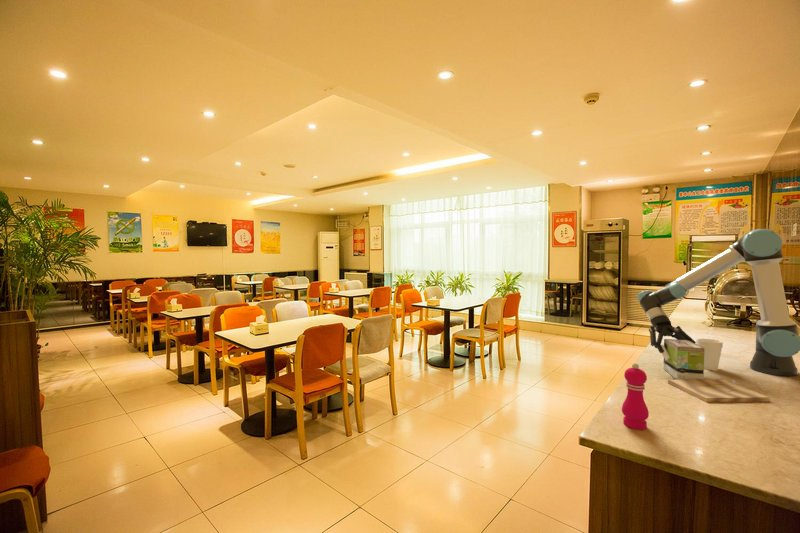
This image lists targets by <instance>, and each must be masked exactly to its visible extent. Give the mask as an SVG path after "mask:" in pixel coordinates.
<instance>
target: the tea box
mask: <svg viewBox="0 0 800 533" xmlns="http://www.w3.org/2000/svg"><path fill="white" fill-rule="evenodd" d="M663 345H664V347H665V349H666V351H667V352H668V354H669V356H670V358H669V359H668V360H667V361H666V360H665V359H664V358H663V364H662V365H663V371H665V372H666V373H668V374H669V375H671V376H672V377H673V378H674V379H675V380H689V379H704V378H705V376H704V374H705V373H704V371H705V369H704V348H703V347H701V346H699V345H697V344H696V343H693V342H691V341H689V340H677V339H675V338H673V339H672V338H664V339H663Z"/></svg>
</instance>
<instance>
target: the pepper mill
mask: <svg viewBox="0 0 800 533" xmlns="http://www.w3.org/2000/svg"><path fill="white" fill-rule="evenodd" d="M623 377H624V379H625V380H626V382H625V384H626V385H625V386H626V388H627V394H626V397H625V399H624V401H623V404H622V406H621V412H622V414H623V425H625V426H626V427H627V426H628V428H630V429H632V430H638V431H641V430H642V431H643V430H644V431H645V430H646V429H647V427H648V422H647V419H648V418H649V417H650V414H649V413H650V412H649V409H648V406H647V404H646V402H645V399H644V391H645V383H646V382H647V380H648V378H647V374H646V372H645V371H644V370H643V369H641V368H640V365H639V364H638V363H636V362H635V363H633V364H632V366H631V367H629V368H627V369H625V371H624V376H623Z"/></svg>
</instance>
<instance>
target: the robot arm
mask: <svg viewBox="0 0 800 533" xmlns="http://www.w3.org/2000/svg"><path fill="white" fill-rule="evenodd" d="M782 247H783V239H782V237H781V235H779V233H777V232H776V231H774V230H772V229H769V228H757V229H753V230H750V231H748V232H747V233H745V234H744V235H742V237H740V238H739V239H738V240H736V241H735V242H734V243H732V244H730V245H729V246H728V249H726V250H725V251H723V252H721V253H719V254H717V255H715V256H714V257H713V258H712V257H711V259H709V260H707V261H706V262H703V263H702V264H701V265H699V266H696V267H695V268H694V269H692V270H690V271H687V272H686V273H685V274H683V275H681V276H680V277H678V278H676V279H675V280H673V281H671V282H668V283H667V284H665V285H664V286H663V287H661V288H660V289H658V290H655V291H652V290H649V289H647V290H642V291H641V292H639V293H638V294H637V301H638V303H639V305H640V307H641V308H642V310H643V312H644V313H645V315H646V316H647V318H648V320H649V321H650V323H651V326H650V327H649V328H648V332H649V335H650V338H649V339H650V346H651V347H654V348H655V349H657V350H658V352H659V353H660V354H662V355H661V356H662V357H663V360H664V359H665V360H666V361H667V360H668V359H669V358H670V356H669V354H668V352H667V351H666V349H665V347H664V344H662V341H663V340H664V339H663V338H664V337H671V338H673V339H675V340H689V341H691V342H693V343H695V344H696V340H694V339H693V338H692V337H691V336H690V335H689V334H687V333H686V332H685V331H684V330H683V329H682V327H681V326H679V325H677V326H673V325H672V321H671V319H670V318H669V316H668V315H667V314H666V311H665V310H664V308H663V307H662V306H665V305H667V304H669V303H672V302H674V301H676V300H678V299H682V298H684V297H685V296H687V294H688V293H687V292H689V291H691V290H692V289H694V288H696V287H698V286H700V285H701V284H704V283H706V282H707V281H709V280H711V279H713V278H714V277H716V276H718V275H720V274H721V273H723V272H725V271H727V270H730V269H731V268H732V267H734V266H736V265H738V264H740V263H741V262H744V263H746V264H748V265H749V266H750V268H751V273H752V278H753V284H754V289H755V294H756V300H757V305H758V306H757V307H758V310H759V315H760V319H758V320H757V321H756V324H755V352H754V354H753V357H752V359H751V360H750V362H749V368H750V369H752V370H754V371H756V372H760V373H764V374H768V375H776V376H783V377H796V376H798V373H799V370H798V367H797V366H796V362H795V361H794V358H793V356H795V355H796V354H798V353H799V352H800V337H799V332H798V327H797V323H796V322H795V321H794V320H792V319H790V314H789V309H788V308H789V307H788V302H787V298H786V293H785V288H784V283H783V277H782V273H781V272H782V271H781V267H780V266H781V265H780V262H781V261H783V259H784V256H783V250H782ZM656 332H657V333H658V334H656Z"/></svg>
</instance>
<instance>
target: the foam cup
mask: <svg viewBox="0 0 800 533" xmlns="http://www.w3.org/2000/svg"><path fill="white" fill-rule="evenodd" d="M695 342H696V343H695V344H697V345H699V346H701V347H703V348H704V370H709V371H718V369H719V364H720V361H721V360H720V359H721V355H722V349H723V348H724V347H723V340H719V339H714V338H708V337H707V338H704V337H703V338H699V337H697V338H696V339H695Z"/></svg>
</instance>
